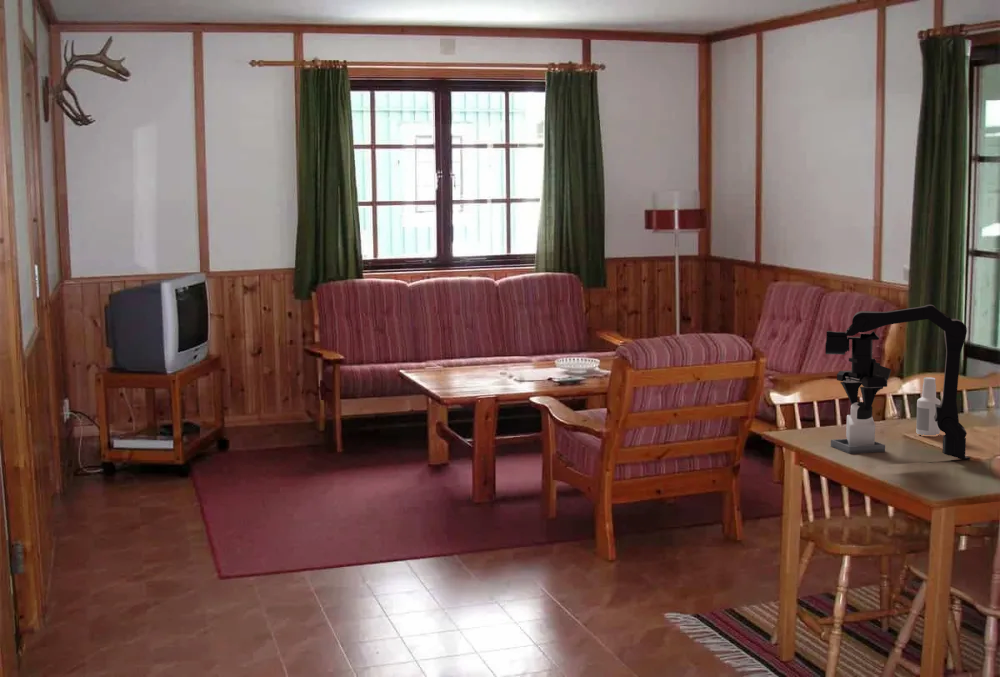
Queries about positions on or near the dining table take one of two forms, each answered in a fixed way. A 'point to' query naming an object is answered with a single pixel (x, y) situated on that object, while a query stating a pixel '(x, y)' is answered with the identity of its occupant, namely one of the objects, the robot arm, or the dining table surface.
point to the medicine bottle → (860, 426)
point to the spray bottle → (927, 409)
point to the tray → (856, 447)
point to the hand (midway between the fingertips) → (861, 408)
